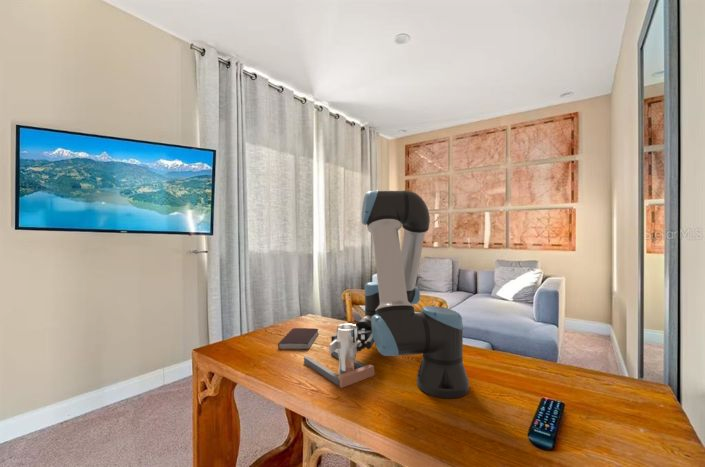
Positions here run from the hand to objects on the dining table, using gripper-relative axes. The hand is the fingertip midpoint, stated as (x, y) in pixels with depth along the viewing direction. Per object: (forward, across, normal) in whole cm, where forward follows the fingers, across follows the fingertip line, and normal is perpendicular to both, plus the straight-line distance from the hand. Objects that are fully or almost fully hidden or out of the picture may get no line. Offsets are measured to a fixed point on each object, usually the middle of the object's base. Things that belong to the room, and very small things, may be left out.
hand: (340, 350), depth 101 cm
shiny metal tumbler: (-5, 0, -9) cm, 10 cm away
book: (-27, +31, -11) cm, 43 cm away
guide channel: (-8, +4, -10) cm, 13 cm away
